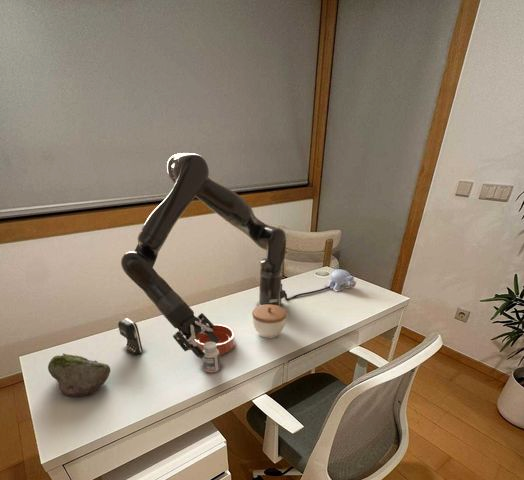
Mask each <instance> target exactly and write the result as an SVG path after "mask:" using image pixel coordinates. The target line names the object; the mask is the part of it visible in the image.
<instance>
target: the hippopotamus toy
mask: <svg viewBox="0 0 524 480" xmlns="http://www.w3.org/2000/svg"><path fill="white" fill-rule="evenodd" d="M332 268H333V271H332V272H331V274H330V279H329V281H328V284H327V286H326V287H329V286H331V287H330V288H329V289H331V290H333V291H334V292H340V291H341V287H342V286H343V288H345V289H350V288H355V287H356V284H357V281H356V280H354V279H355V276H354V275H352V276H351V273H350V272H349V271H347V270H345V269H339V268H338V269H337V267H336V266H335V265H332ZM335 283H336V284H335ZM334 285H335V286H334Z"/></svg>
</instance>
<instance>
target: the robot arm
mask: <svg viewBox="0 0 524 480" xmlns="http://www.w3.org/2000/svg"><path fill="white" fill-rule="evenodd" d="M166 169H167V175H168V177H169V179H170V180H171V182H172V183H173V184H174V186H173V188H172V189H171V191H170V192H169V194H168V195H167V196H166V198H164V200H163V201H161V203H160V204H159V205H158V206H156V208H155V209H154V210H153V211H152V212H151V213H150V215H148V217H147V219H146V221H145V222H144V225H143V226H142V227H141V230H140V232H139V234H138V236H137V244H136V247H135V248H134V250H133V251H128V252H126V253H124V254H123V256H122V257H121V260H120V265H121V269H122V270H123V272H124V274H125V275H127V277H128V278H129V279H130V280H131V281H132V282H134V283H135V285H137V286H138V288H139V289H141V290H142V291H143V292H144V293H145V295H146V296H147V297H148V299H149V300H150V301H151V302H152V303H153V304H154V306H156V308H157V309H158V311H159V312H160V313H161V314H162V315H163V317H164V318H165V319H166V320H167V322H169V324H171V326H172V327H173V328H174V329H177V331H176V332H175V333H174V334H173V335H172V338H173V339H174V340H175V341H176V343H177V344H178V345H179V346H180V347H181V349H182V350H183V351H184V352H188V351H192V353H193V354H194V355H195V357H197V358H199V359H203V356H204V355H205V353H204V352H203V351H202V350H201V349H200V348H199V347H198V345H197V346H196V342H195V339H196V337H195V336H196V335H197V334H199V333H203V334H206V335H208V338H209V339H210V340H211V341H212V342H215V343H216V344H217V343H218V342H219V339H218V337H217V336H216V335H215V334H214V333H213V328H214V325H215V324H213V323H212V321H211V320H209V318H208V317H207V316H206V315H205V314H204V313H199V314H198V315H197V316H195V312H194V310H193V309H192V308H191V307H190V305H188V303H186V301H185V300H184V299H183V298H182V296H181V295H179V293H177V292H176V291H175V290H174V289H173V288H172V287H171V285H170V284H169V283H168V282H167V281H166V280H165V279H164V278H163V277H162V276H161V275H159V274H158V272H157V271H156V269H154V267H155V264H156V261H157V258H158V256H159V254H160V251H161V250H162V248H163V246H164V244H165V243H166V241H167V239H168V237H169V236H170V234H171V232H172V230H173V229H174V227H175V226H176V223H177V222H178V220H179V219H180V218H181V217H182V215H183V213H184V212H185V211H186V209H187V208H188V207H189V205H190V204H191V203H192V202H193V200H194V199H195V198H196V199H198V200H199V201H200V202H202V203H203V204H204V205H206V206H207V208H209V209H210V210H211V211H212V212H214V213H215V214H217V216H218V217H220V218H221V219H223V220H224V221H225V222H227V223H228V224H229V225H231V227H234V228H235V229H236V230H238V231H239V232H241V233H243V234H245V235H246V236H248V237H249V238H250V239H251V240H252V242H254V243H255V245H257V247H259V248H260V249H262V250H264V251H267V254H266V255H267V256H266V257H263V258H262V259H260V260H259V286H258V287H259V292H258V293H259V295H258V306H260V305H277V306H280V307H281V305H282V299H285V300H286V301H290V300H293V299H295V298H298V297H300V296H305V295H306V296H307V295H310V294H315V293H320V292H322V291H325V290H328V289H330V287H331V286H329V287H327V286H326V287H323V288H320V289H317V290H312V291H307V292H302V293H297V294H295V295H293V296H291V297H289V298H288V294H287V293H286V290H285V289H283V284H282V275H283V274H282V273H283V264H284V261H285V257H286V249H287V247H286V246H287V236H286V232H285V231H284V230H283V229H282V228H278V227H275V226H271V225H268V224H267V223H265V222H263V221H261V220H260V219H259V218H258V217H256V215H255V213H254V210H253V208H252V207H251V205H250V204H249V203H248V202H247V201H246V200H245V199H244V198H242V197H241V196H240V195H239V194H238V193H236V192H235V191H234V190H232V189H230V188H228V187H226V186H224V185H222V184H220V183H218V182H216V181H214V180H213V179H211V178H210V177H209V176H210V175H209V174H210V171H209V170H210V169H209V165H208V163H207V161H206V160H205V159H204V158H203V156H201V155H199V154H196V153H189V152H186V153H185V152H183V153H181V152H180V153H177V154H174V155H172V156H171V157H169V159H168V161H167V164H166ZM335 284H336V283H335ZM334 286H335V285H334ZM208 325H209V326H208Z"/></svg>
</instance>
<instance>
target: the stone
mask: <svg viewBox="0 0 524 480" xmlns="http://www.w3.org/2000/svg"><path fill="white" fill-rule="evenodd" d="M47 370H48V373H49V374H50V375H51V377H52V378H53V379H54V380H55V381H56V382H57V383H58V388H59V391H60V394H62V395H63V396H66V397H70V398H71V397H84V396H89V395H91V394H94V393H95V392H96V391H97V390H98V389H99V388H100V387H101V386H102V385H104V384H105V382H106V381H107V379H108V377H109V376H110V373H111V366H110V365H108V364H107V363H103V362H99V361H97V360H92V359H91V360H89V359H88V358H86V357H84V356H80V355H73V354H67V353H62V355H55V356H53V357H52V358H51V359H50V361H49V363H48V365H47Z"/></svg>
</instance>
